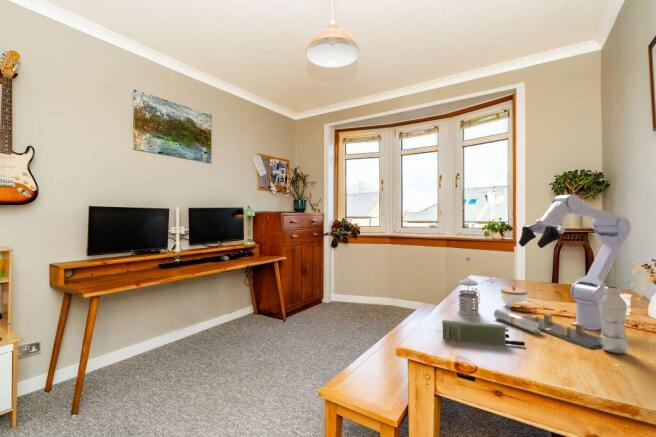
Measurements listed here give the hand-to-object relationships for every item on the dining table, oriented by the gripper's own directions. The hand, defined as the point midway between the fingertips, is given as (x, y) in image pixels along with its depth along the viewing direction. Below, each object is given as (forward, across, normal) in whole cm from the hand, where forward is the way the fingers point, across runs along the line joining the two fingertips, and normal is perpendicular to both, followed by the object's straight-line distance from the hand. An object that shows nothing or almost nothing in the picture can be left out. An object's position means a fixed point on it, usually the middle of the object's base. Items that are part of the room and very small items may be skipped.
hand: (529, 245), depth 113 cm
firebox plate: (+12, 0, +32) cm, 34 cm away
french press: (+25, -26, +21) cm, 42 cm away
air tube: (+19, -9, +26) cm, 33 cm away
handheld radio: (+37, 0, +10) cm, 39 cm away
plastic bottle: (+13, +18, +32) cm, 39 cm away
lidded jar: (+4, -31, +39) cm, 50 cm away
